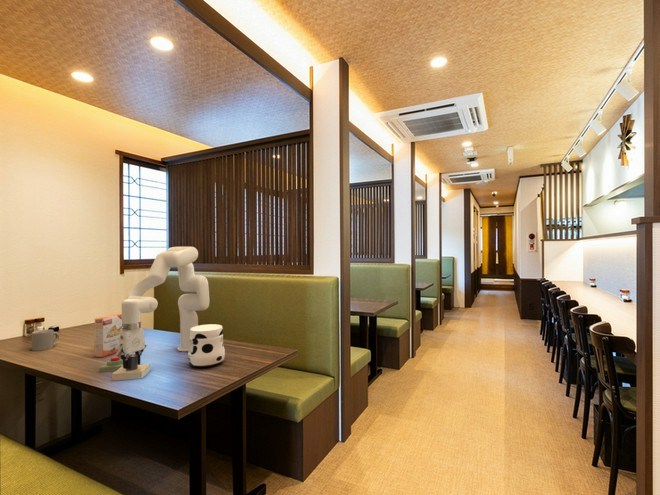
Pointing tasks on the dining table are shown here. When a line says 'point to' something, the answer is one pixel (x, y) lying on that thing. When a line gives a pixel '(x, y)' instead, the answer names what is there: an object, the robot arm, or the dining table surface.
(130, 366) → the knob
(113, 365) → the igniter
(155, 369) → the dining table surface
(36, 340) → the coffee mug
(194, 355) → the milk container
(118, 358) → the button
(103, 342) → the cracker box
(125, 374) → the panel
